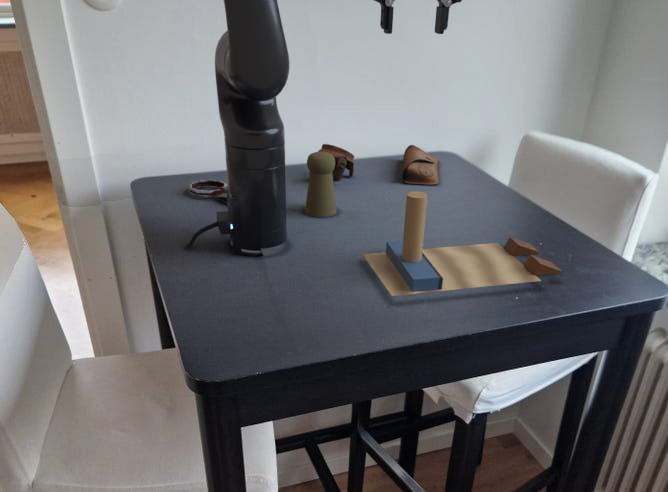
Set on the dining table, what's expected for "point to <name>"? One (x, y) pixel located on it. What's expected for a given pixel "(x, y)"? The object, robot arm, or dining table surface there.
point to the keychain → (218, 194)
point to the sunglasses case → (419, 167)
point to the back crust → (520, 248)
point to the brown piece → (339, 161)
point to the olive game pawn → (320, 185)
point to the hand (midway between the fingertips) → (413, 33)
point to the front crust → (541, 266)
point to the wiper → (414, 248)
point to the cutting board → (457, 268)
